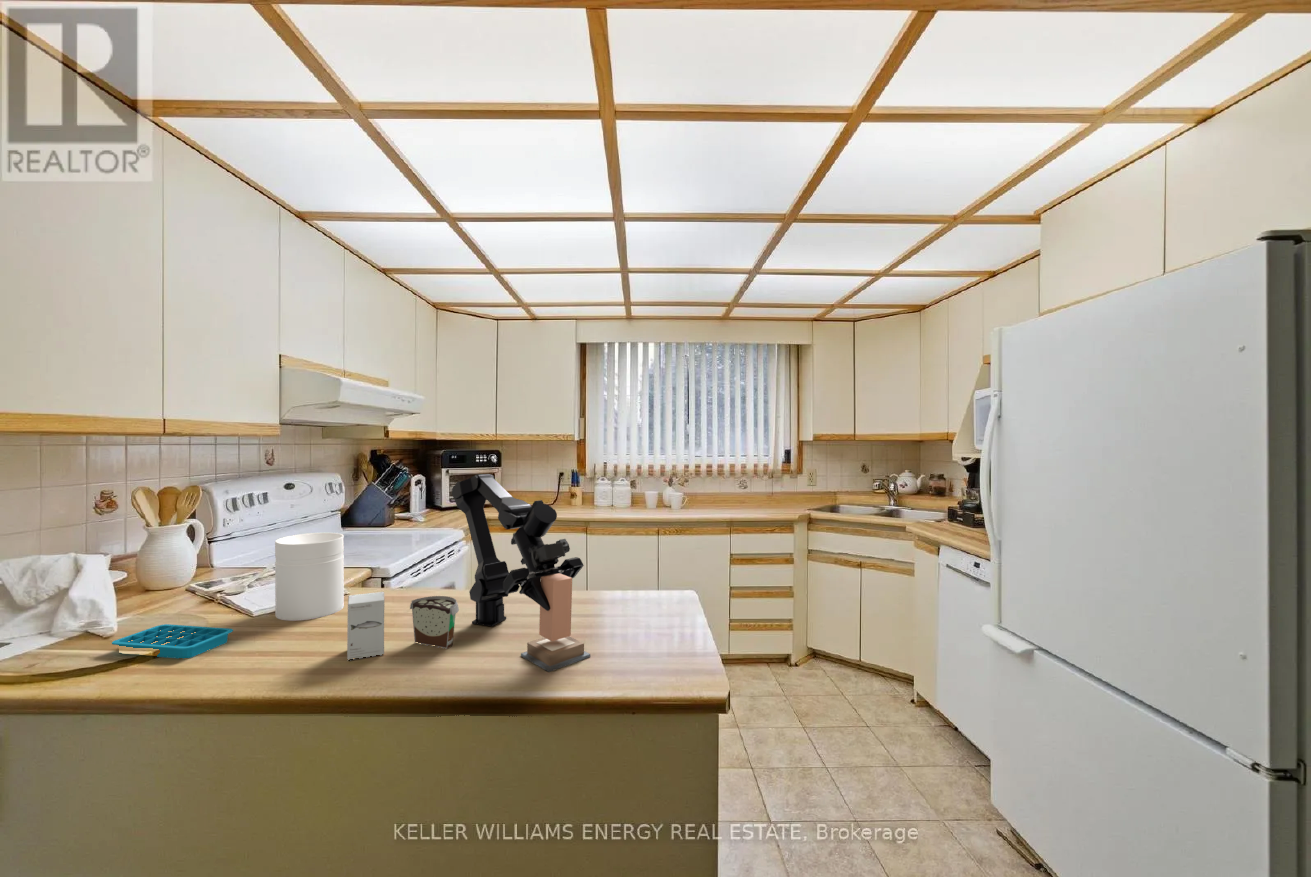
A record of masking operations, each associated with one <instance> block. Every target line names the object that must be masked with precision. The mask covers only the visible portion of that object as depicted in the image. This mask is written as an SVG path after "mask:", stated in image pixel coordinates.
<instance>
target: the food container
mask: <svg viewBox="0 0 1311 877" xmlns="http://www.w3.org/2000/svg"><path fill="white" fill-rule="evenodd" d="M409 610H411V612H412V615H411V616H412V624H413V637H414V643H415V642H418V643H421V644H420V645H422V644H426V645H425V646H428V645H435V646H438V647H437V648H439V647H442V648H441V649H444V648H445V649H444V650H447V649H449V647H450V646H451V645H452V646H453V643H454V632H455V624H456V622H455V621H456V614H458V612H459V610H460V609H459V603H458V601H457V599H456V598H454V597H452V596H445V595H434V596H432V595H431V596H425V597H418V598H416V599H413V600H411V602H410V606H409ZM452 646H451V647H452ZM451 647H450V648H451Z"/></svg>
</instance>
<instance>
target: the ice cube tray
mask: <svg viewBox="0 0 1311 877" xmlns="http://www.w3.org/2000/svg"><path fill="white" fill-rule="evenodd" d="M160 630H161V631H160ZM173 630H174V631H173ZM168 631H172V632H168ZM182 631H185V632H182ZM180 632H182V633H180ZM194 632H196V633H194ZM232 632H234V629H233V628H228V627H227V628H225V627H213V626H209V627H208V626H200V625H199V626H198V625H197V626H196V625H185V624H184V625H181V624H170V623H168V624H167V623H165V624H160V625H156V626H153V627H150V628H147V629H144V630H141V631H139V632H136V633H132V634H129V635H127V636H123V637H121V638H117V639H115V640H113V641H112V642H111V645H115V646H116V645H117V646H118V645H119V646H126V647H133V648H153V649H159V650H160V653H159V654H158V655H157V657H156V658H167V659H169V658H170V659H179V658H183V659H182V660H185V659H184V658H188V659H191V658H195V657H196V655H197V656H199V655H201V654H203V653H205V652H208V651H210V650H209V649H211V650H213V649H216V648H218V647H219V645H220V646H222V645H224V644H227V642H228V639H229V638H228V637H229V634H230V633H232ZM191 633H193V634H191ZM156 636H158V637H156ZM168 636H172V637H169V638H166V637H168ZM182 636H184V637H183V638H180V639H177V638H179V637H182ZM131 640H133V641H131ZM128 641H130V642H128ZM142 641H144V642H142ZM155 641H158V642H156V643H153V642H155ZM140 642H142V643H140ZM166 642H170V643H167V644H165V645H161V644H164V643H166ZM151 643H153V644H151ZM175 645H176V646H175ZM217 646H218V647H217ZM207 650H208V651H207ZM198 654H199V655H198Z"/></svg>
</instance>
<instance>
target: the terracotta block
mask: <svg viewBox="0 0 1311 877" xmlns="http://www.w3.org/2000/svg"><path fill="white" fill-rule="evenodd" d="M540 580H541V587H542V589H543V591H544V593H545V595H546V598H547V600H548V602H549V605H550V610H549V611H547V610H545V609H544V608H543V607H541V606H540V605H539V623H538V625H539V626H538V627H539V629H538V635H539V636H541V637H542V638H544V637H545V638H546V639H548V640H550V641H555V640H558V639H561V638H565V637H568V636H570V637H572V634H571V633H572V609H573V608H572V606H573V604H572V600H573V578H571V577H568V576H566V575H563V574H560V573H558V574H553V575H548V576H543V577H541V579H540Z"/></svg>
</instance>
